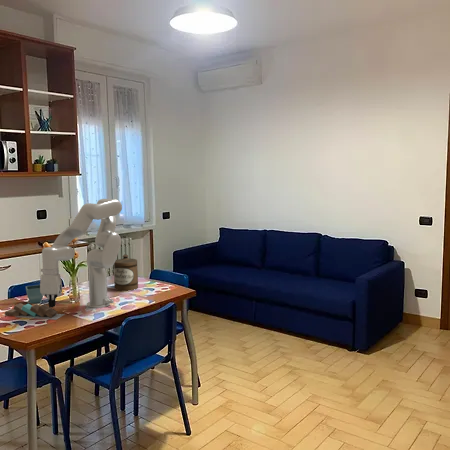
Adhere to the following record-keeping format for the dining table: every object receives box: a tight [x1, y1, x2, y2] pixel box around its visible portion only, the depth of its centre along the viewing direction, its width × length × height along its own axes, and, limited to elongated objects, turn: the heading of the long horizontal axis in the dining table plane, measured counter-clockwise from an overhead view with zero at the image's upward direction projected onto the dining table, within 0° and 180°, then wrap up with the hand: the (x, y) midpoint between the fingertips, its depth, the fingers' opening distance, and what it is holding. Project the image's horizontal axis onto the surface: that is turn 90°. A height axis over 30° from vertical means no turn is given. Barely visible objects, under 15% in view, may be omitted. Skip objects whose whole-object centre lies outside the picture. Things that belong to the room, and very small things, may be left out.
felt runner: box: [15, 313, 66, 320], centre depth 240 cm, size 23×9×1 cm, turn 80°
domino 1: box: [4, 308, 22, 317], centre depth 242 cm, size 2×5×8 cm
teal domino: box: [21, 302, 38, 317], centre depth 241 cm, size 2×5×8 cm
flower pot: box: [25, 284, 44, 304], centre depth 265 cm, size 9×9×9 cm
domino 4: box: [38, 304, 58, 318], centre depth 239 cm, size 2×5×8 cm
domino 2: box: [12, 302, 30, 316], centre depth 241 cm, size 2×5×8 cm
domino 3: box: [30, 303, 47, 317], centre depth 240 cm, size 2×5×8 cm
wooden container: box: [113, 254, 139, 292], centre depth 297 cm, size 15×15×22 cm
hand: (52, 306), depth 238 cm, fingers closed
